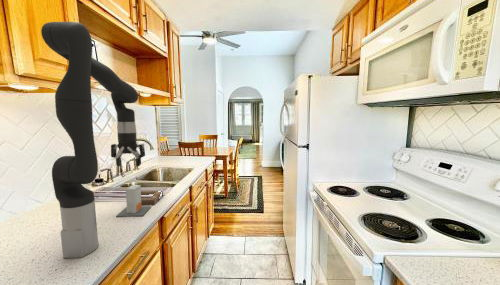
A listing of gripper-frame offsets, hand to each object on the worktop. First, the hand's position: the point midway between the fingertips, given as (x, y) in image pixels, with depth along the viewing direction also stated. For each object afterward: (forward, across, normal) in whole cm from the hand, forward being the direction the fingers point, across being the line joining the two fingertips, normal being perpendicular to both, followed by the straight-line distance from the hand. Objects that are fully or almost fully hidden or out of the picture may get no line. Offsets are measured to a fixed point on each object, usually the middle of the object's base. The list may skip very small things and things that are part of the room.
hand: (129, 166), depth 101 cm
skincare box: (+22, +1, 0) cm, 22 cm away
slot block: (+23, +1, +14) cm, 27 cm away
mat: (+23, +1, 0) cm, 23 cm away
